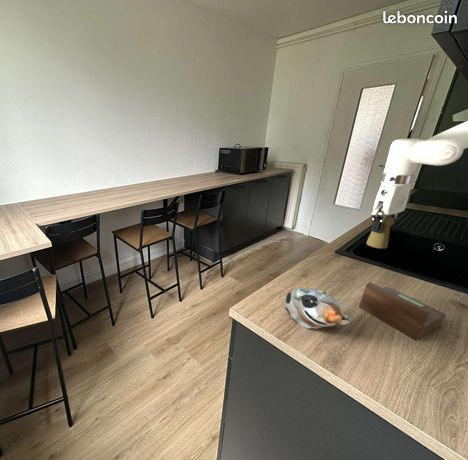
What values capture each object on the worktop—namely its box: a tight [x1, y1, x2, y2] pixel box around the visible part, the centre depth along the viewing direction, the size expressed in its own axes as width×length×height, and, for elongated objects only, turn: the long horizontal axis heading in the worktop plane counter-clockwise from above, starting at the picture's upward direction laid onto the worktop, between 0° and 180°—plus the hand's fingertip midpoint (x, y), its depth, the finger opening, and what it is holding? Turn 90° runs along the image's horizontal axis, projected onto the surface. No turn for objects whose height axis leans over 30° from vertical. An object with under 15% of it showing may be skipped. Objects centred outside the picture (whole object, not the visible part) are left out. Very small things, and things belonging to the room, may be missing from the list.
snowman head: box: [284, 287, 352, 330], centre depth 70 cm, size 15×12×14 cm
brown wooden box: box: [358, 281, 447, 341], centre depth 71 cm, size 12×14×9 cm
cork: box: [365, 214, 395, 250], centre depth 89 cm, size 6×6×11 cm
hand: (381, 229), depth 88 cm, fingers closed on cork, 5 cm apart
